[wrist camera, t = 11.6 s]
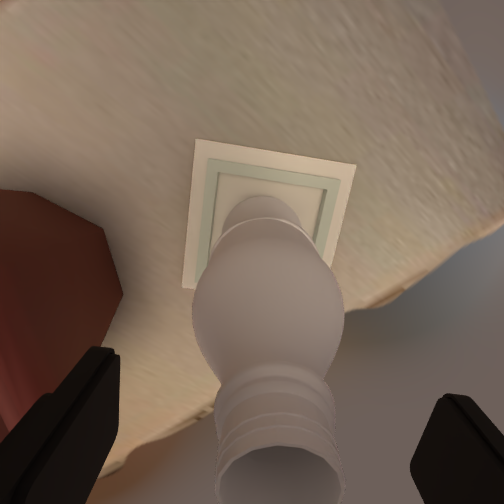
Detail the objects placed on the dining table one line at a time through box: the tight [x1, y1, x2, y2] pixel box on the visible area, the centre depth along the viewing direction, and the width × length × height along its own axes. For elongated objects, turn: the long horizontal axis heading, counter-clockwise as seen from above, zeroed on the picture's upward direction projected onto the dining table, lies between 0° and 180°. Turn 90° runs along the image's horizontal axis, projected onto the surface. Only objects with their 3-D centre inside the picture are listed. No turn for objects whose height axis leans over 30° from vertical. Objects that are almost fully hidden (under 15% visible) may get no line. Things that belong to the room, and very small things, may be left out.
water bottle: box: [192, 196, 346, 504], centre depth 19 cm, size 7×7×25 cm
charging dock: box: [182, 139, 357, 290], centre depth 31 cm, size 15×15×2 cm
